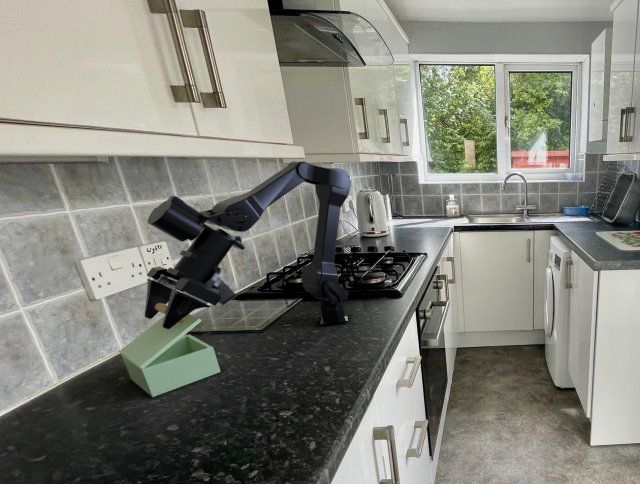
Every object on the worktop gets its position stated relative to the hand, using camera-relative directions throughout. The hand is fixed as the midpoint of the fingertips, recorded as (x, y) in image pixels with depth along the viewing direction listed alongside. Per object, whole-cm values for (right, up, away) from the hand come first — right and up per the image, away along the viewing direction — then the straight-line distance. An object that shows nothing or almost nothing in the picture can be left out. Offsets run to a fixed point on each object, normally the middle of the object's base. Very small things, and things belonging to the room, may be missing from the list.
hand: (156, 323), depth 78 cm
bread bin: (0, -11, +5) cm, 12 cm away
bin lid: (0, -3, +1) cm, 3 cm away
